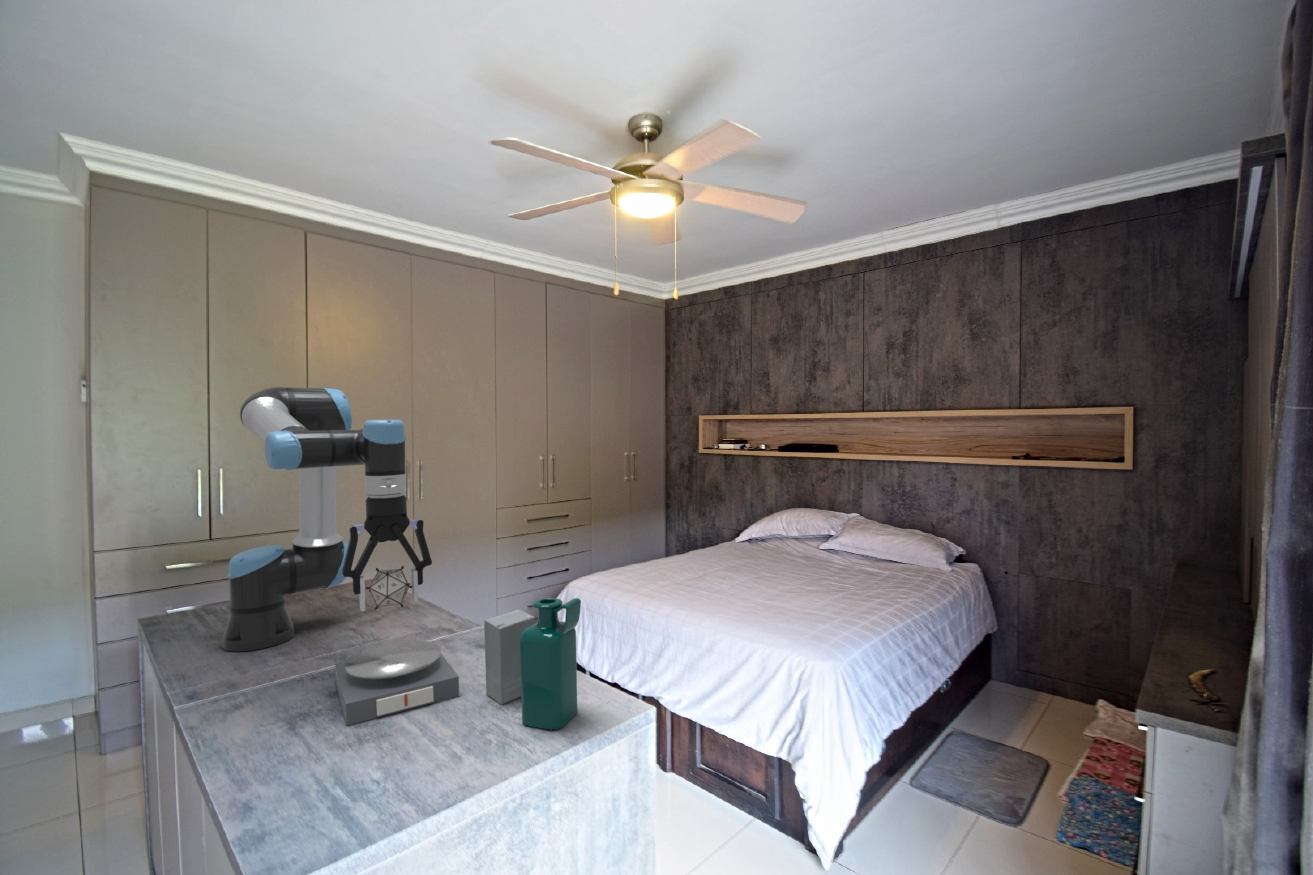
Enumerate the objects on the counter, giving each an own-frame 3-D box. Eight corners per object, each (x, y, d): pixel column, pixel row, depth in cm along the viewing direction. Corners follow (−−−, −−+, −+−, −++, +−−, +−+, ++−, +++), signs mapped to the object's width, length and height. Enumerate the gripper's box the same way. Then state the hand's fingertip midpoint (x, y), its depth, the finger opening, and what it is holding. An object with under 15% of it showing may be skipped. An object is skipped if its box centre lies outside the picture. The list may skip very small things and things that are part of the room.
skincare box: (520, 681, 124) (518, 607, 123) (539, 692, 119) (537, 614, 118) (483, 695, 118) (481, 616, 117) (501, 707, 113) (499, 625, 112)
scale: (335, 681, 125) (334, 663, 125) (433, 659, 136) (433, 642, 136) (347, 727, 106) (346, 706, 106) (460, 697, 117) (459, 678, 117)
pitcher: (517, 725, 106) (514, 603, 105) (542, 703, 114) (540, 591, 113) (565, 734, 103) (562, 609, 102) (587, 711, 110) (585, 595, 110)
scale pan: (341, 661, 124) (340, 652, 124) (430, 642, 134) (430, 634, 134) (350, 693, 109) (350, 683, 109) (450, 669, 119) (450, 660, 119)
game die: (393, 627, 119) (389, 596, 113) (359, 610, 121) (352, 579, 115) (423, 594, 126) (420, 564, 120) (390, 579, 128) (385, 548, 122)
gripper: (325, 502, 111) (329, 620, 111) (446, 492, 123) (449, 600, 123) (323, 498, 117) (327, 610, 118) (438, 489, 129) (440, 591, 129)
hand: (389, 604), depth 120 cm, fingers closed on game die, 9 cm apart
